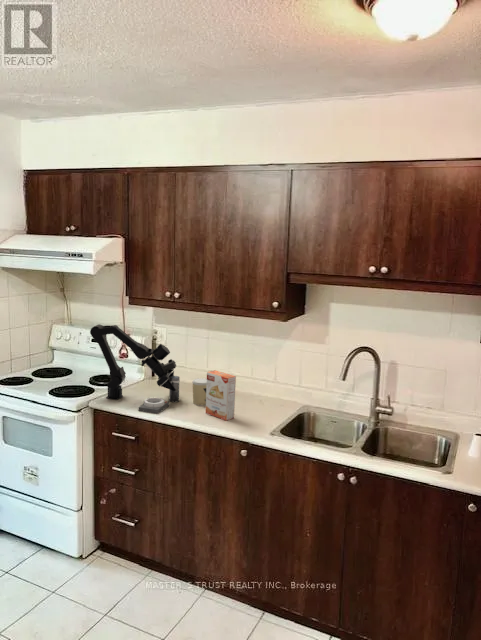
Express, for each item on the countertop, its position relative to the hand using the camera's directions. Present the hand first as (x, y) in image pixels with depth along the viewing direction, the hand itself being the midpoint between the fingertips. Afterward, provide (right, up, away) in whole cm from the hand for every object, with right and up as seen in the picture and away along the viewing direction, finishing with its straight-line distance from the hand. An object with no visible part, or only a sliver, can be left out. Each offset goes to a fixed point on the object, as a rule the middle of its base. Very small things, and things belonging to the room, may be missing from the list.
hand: (176, 388), depth 266 cm
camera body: (-10, -8, -12) cm, 18 cm away
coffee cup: (+12, -8, -1) cm, 15 cm away
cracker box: (+23, -11, -18) cm, 31 cm away
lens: (-2, -7, +1) cm, 7 cm away
